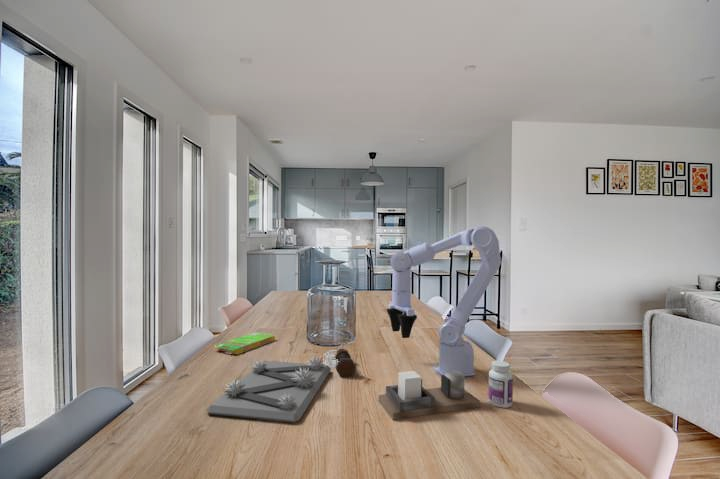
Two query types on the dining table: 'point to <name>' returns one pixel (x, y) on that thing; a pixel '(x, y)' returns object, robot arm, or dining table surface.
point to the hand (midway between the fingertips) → (400, 334)
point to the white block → (409, 385)
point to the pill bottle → (500, 385)
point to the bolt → (344, 363)
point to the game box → (245, 343)
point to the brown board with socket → (430, 399)
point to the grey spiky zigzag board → (272, 391)
